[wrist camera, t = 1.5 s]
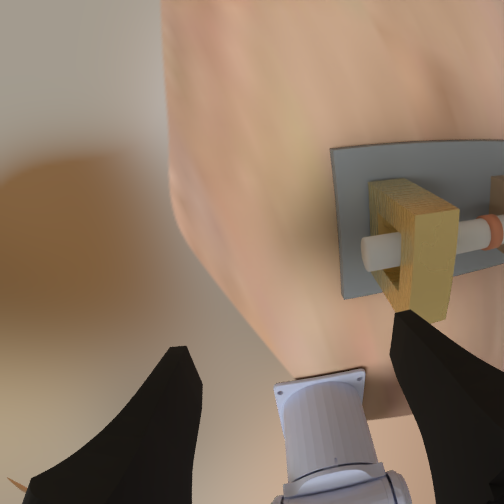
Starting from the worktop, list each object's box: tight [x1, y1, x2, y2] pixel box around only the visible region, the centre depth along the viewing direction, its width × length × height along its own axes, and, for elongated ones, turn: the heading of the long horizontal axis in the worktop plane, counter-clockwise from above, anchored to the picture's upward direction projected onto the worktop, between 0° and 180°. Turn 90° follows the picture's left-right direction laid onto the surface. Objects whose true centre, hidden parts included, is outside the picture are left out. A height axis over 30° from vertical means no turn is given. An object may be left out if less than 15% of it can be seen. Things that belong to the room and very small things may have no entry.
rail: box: [330, 140, 504, 300], centre depth 17 cm, size 15×10×5 cm, turn 100°
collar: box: [368, 178, 460, 324], centre depth 15 cm, size 2×6×6 cm, turn 10°
